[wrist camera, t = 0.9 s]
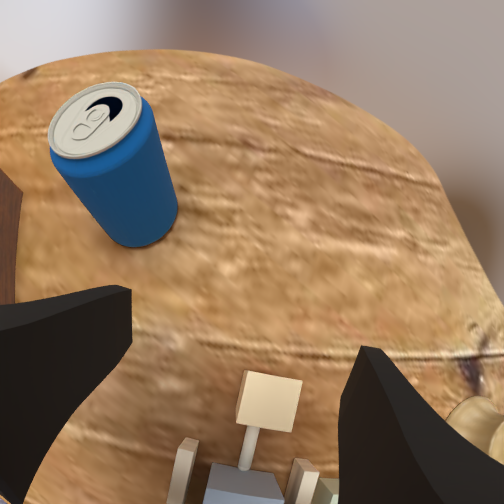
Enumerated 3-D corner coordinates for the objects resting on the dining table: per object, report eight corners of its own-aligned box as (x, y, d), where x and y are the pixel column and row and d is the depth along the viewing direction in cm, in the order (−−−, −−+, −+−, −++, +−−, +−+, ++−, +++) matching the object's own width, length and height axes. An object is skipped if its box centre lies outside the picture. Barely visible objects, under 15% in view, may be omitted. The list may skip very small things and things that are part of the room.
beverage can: (194, 201, 27) (174, 93, 15) (148, 265, 24) (90, 183, 13) (136, 170, 27) (96, 68, 16) (91, 227, 25) (22, 141, 14)
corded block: (260, 520, 18) (267, 558, 12) (201, 510, 18) (192, 547, 12) (295, 379, 22) (315, 382, 16) (234, 367, 22) (234, 367, 17)
